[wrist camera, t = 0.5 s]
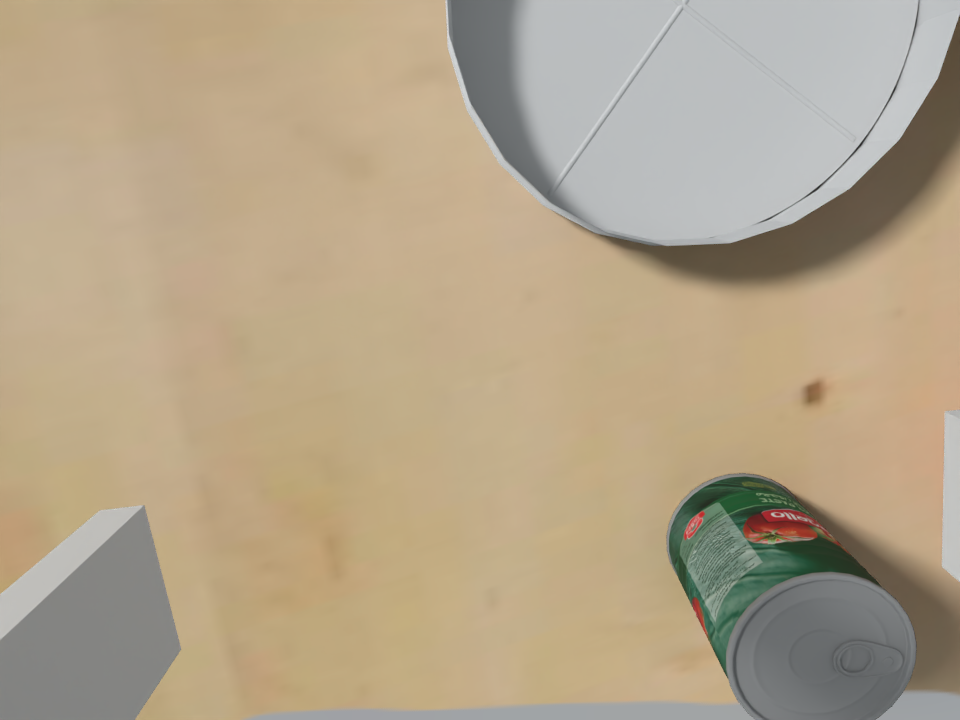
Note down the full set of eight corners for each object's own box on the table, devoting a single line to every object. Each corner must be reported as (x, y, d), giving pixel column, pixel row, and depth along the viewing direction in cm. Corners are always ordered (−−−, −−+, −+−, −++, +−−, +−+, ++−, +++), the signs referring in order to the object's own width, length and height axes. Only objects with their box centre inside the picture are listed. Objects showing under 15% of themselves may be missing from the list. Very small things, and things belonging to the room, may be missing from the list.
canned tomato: (658, 595, 42) (714, 733, 32) (674, 468, 41) (741, 569, 30) (794, 604, 42) (897, 745, 32) (818, 477, 41) (935, 581, 30)
